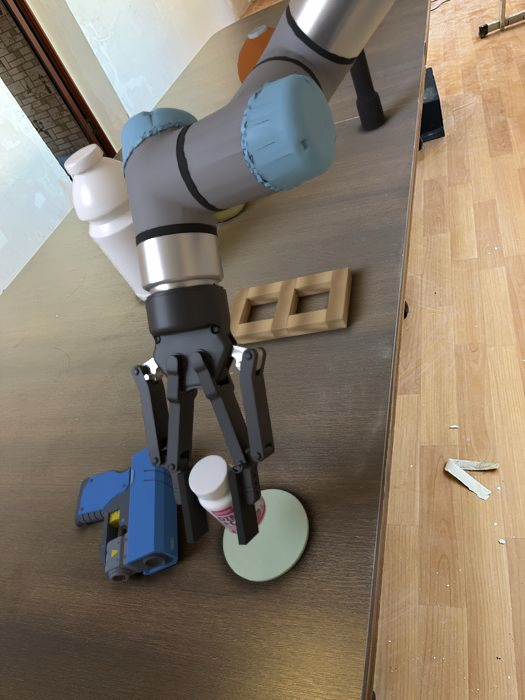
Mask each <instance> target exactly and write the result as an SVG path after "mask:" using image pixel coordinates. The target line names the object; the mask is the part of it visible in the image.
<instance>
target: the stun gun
mask: <svg viewBox="0 0 525 700" xmlns="http://www.w3.org/2000/svg"><path fill="white" fill-rule="evenodd" d="M73 521H74V524H75V526H76V527H78V528H82V527H83V526H84V525H86V524H89V523H94V522H98V521H103V528H102V529H103V530H102V539H101V544H100V545H99V555H98V556H99V557H98V558H99V561H100V562H101V563H102V565H104V566H105V567H104V576H105V577H106V578H107V579H110V581H112V582H113V583H123V582H124V583H125V582H126V581H128V580H129V579H130V577H131V576H133V575H135V574H136V573H137V574H138V573H139V574H140V573H141V572H142V574H143V576H146V575H148V576H149V575H150V576H151V575H152V574H155V573H157V572H159V571H162V570H163V569H166V568H169V567H171V566H173V565H175V564H177V562H178V560H179V555H178V554H179V548H178V547H179V546H178V545H179V544H178V505H177V503H176V501H175V497H174V489H173V484H172V478H171V473H170V472H169V471H168V469H167V468H164V467H162V466H157V467H155V466H153V465H152V464H151V462H150V456H149V450H148V447H145V448H143V449H142V450H140V451H138V452H136V453H134V454H132V457H131V466H130V467H129V468H128V469H127V470H126V471H124V472H120V471H118V470H116V469H115V470H114V469H112V470H108V471H104V472H101V473H98V474H94V475H92V476H89V477H86V478H84V479H83V481H82V482H81V484H80V486H79V492H78V496H77V501H76V507H75V512H74V519H73ZM120 527H121V528H122V529H125V530H126V533H124V535H120V536H119V528H120Z"/></svg>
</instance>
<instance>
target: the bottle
mask: <svg viewBox="0 0 525 700" xmlns="http://www.w3.org/2000/svg"><path fill="white" fill-rule="evenodd" d="M63 167H64V169H65V170H66V172H67V174H68V175H69V176H73V177H72V183H71V200H72V201H71V202H72V205H73V207H74V211H75V214H76V216H77V218H78V219H79V221H82V222H88V234H89V236H90V238H91V239H92V240H93V241H94V243H95V244H96V245H97V246H98V247H99V248H100V250H101V251H102V252H103V254H104V255H105V256H106V257H107V259H108V260H109V261H110V263H111V264H112V265H113V267H114V268H115V270H117V271H118V273H120V275H121V276H122V278H123V279H124V280H125V281H126V283H127V284H128V286H130V288H131V289H132V291H133V292H134V294H135V295H136V297H138V298H139V299H140V300H141V301H143V302H145V300H146V299H147V297H148V296H149V295H151V294H150V292H148V291H145V290H144V289H143V288H142V283H141V276H140V269H139V262H138V255H137V246H136V238H135V233H134V227H133V221H132V215H131V209H130V203H129V197H128V191H127V186H126V181H125V179H124V175H123V171H122V170H123V168H122V167H123V161H121V160H118V159H115V158H112V157H107V156H104V151H103V149H102V148H101V147H100V146H99V145H98V144H96V143H91V144H88V145H85V146H84V147H82V148H79V149H78V150H76V151H75V152H74V153H72V154H71V155H70V156H69V157H68V158H67V159H66V160H65V161H64V164H63Z"/></svg>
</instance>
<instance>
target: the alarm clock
mask: <svg viewBox="0 0 525 700" xmlns="http://www.w3.org/2000/svg"><path fill="white" fill-rule="evenodd" d="M275 29H276V27H270V26H267V25H264V24H263V25H261V26H257V27H255V28H254V29H253V30H251V31H250V32H248V34H247V38H246V39H245V40H244V42H243V44H242V46H241V47H240V50H239V51H238V52H239V53H238V58H237V63H236V64H237V65H236V66H237V74H238V78H239V81H240V84H242V83H243V82H244V81H245V79H246V78H247V76H248V75H249V73H250V72H251V71H252V69H253V68H254V67H255V65H256V64H257V62H258V60H259V59H260V57H261V56H262V54H263V52H264V50H265V49H266V47H267V45H268V43H269V41H270V39H271V37H272V35H273V33H274V31H275Z"/></svg>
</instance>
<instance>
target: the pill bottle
mask: <svg viewBox="0 0 525 700" xmlns="http://www.w3.org/2000/svg"><path fill="white" fill-rule="evenodd" d="M193 466H194V467H193V469H192V471H191V473H190V476H189V485H190V488H191V489H192V491H193V492H194V493H195V494H196V495H197V496H198V500H199V502H200V504H201V505H202V506H203V507H204V508H205V509H206V512H207V513H209V514H210V515H211V516H212V517H213V518H215V519H216V520H217V521H218V522H219V523H220V524H221V525H222V526H223V527H224V528H225V527H226V528H227V529H228V530H229V531H230V532H232V533H234V534H237V530H236V523H235V517H234V510H233V504H232V497H231V491H230V484H229V478H228V472H229V471H231V468H232V467H234V466H235V465H234V464H231V463H229V462H228V461H227V460H226V459H225V458H224V457H223V456H221V455H217V454H211V455H207V456H205V457H203V458H201V459H200V460H198V461H197V462H196V464H194V465H193ZM255 508H256V515H257V521H258V527H259V526H260V524H261V523H262V521H263V519H264V517H265V514H266V504H265V501H264V498H263V497H262V495H261V497H260V499H259V500H258V501H257V502H256V503H255Z"/></svg>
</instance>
